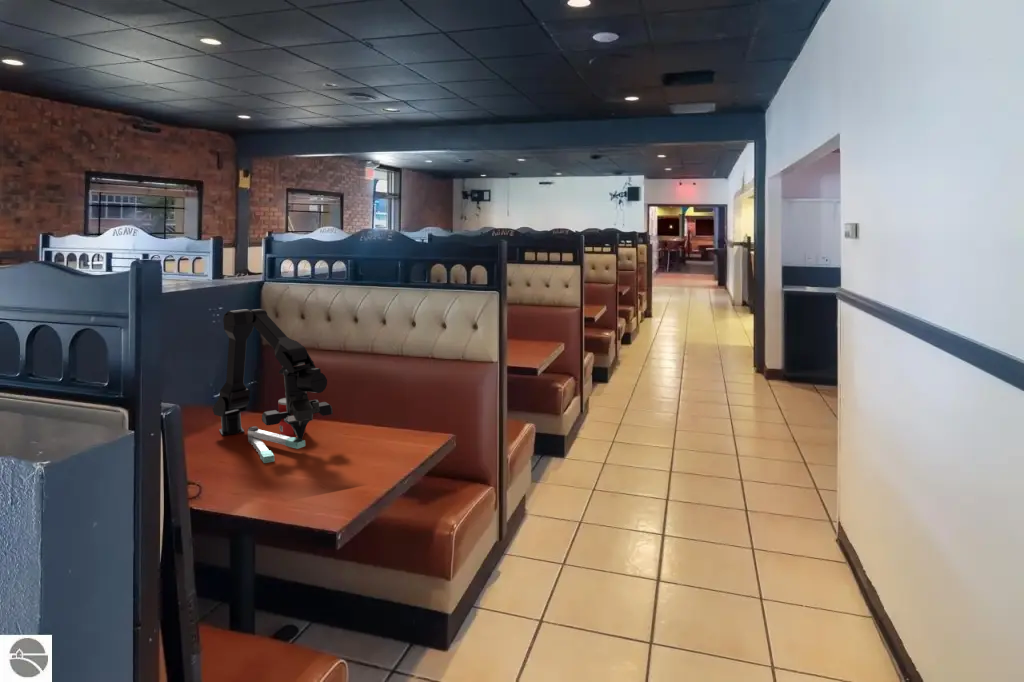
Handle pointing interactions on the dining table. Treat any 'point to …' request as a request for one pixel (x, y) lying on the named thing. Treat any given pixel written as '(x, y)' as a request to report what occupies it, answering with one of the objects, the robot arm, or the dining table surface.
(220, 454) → the dining table surface
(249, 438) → the tongs lower
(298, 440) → the tong arm
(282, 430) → the canned food
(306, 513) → the dining table surface
